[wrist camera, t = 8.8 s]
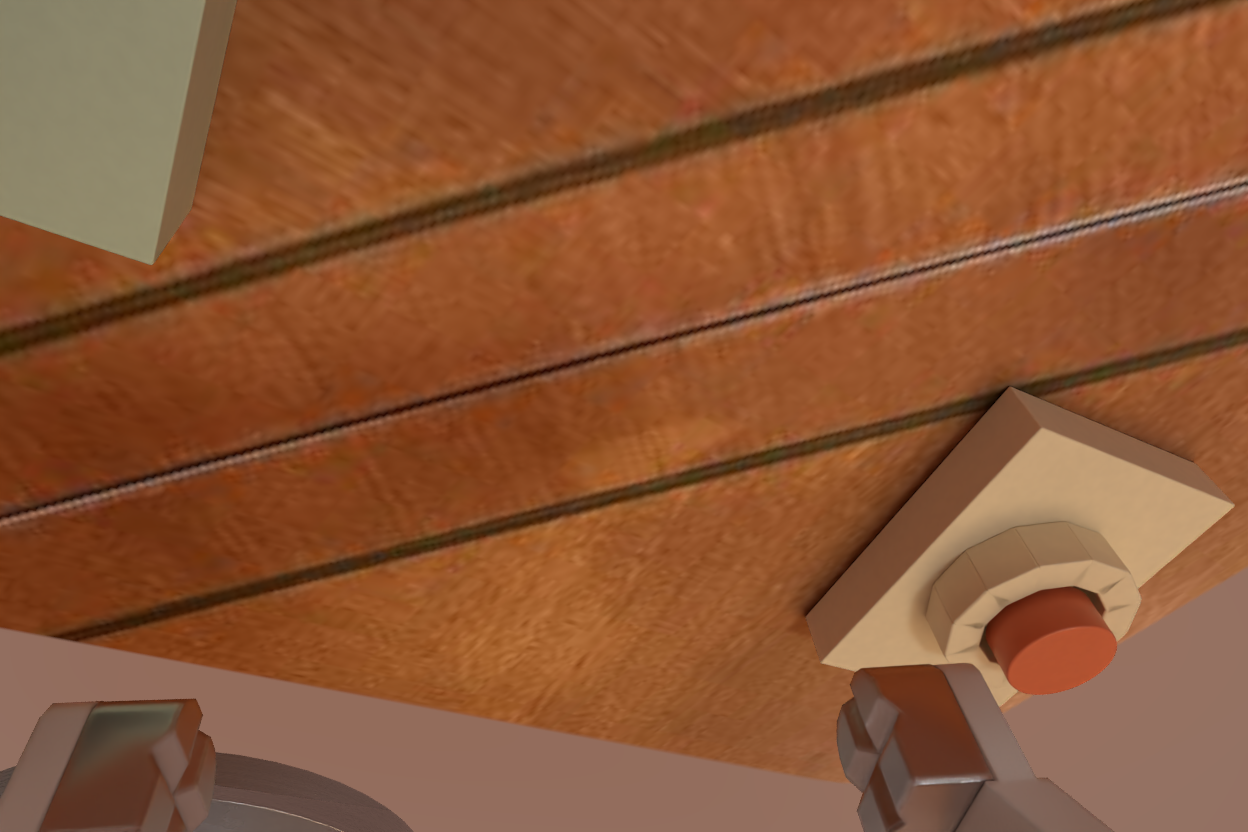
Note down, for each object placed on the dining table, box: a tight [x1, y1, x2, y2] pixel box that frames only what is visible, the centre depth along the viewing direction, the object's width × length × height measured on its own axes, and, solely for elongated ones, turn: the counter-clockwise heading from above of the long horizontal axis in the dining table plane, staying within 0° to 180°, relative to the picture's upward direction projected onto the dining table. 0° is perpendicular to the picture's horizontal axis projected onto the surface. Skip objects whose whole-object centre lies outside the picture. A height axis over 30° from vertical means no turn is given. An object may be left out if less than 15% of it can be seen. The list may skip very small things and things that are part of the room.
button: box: [986, 586, 1117, 695], centre depth 29 cm, size 4×4×2 cm
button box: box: [806, 387, 1235, 706], centre depth 31 cm, size 12×9×4 cm
